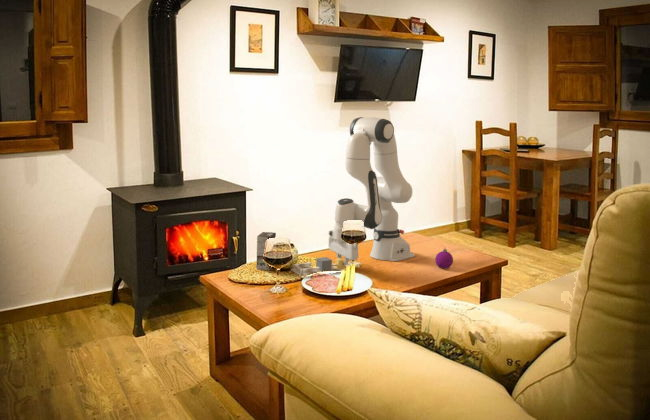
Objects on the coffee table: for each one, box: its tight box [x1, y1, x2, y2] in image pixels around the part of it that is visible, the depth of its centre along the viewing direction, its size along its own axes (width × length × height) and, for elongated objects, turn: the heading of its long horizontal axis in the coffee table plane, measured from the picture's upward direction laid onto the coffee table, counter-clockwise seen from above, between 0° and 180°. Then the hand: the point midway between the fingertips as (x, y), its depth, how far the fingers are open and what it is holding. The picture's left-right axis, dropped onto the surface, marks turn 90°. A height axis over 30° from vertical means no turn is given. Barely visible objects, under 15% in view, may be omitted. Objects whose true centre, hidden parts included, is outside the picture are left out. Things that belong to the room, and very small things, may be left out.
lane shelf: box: [289, 261, 345, 279], centre depth 270 cm, size 26×13×4 cm, turn 120°
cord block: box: [315, 256, 344, 271], centre depth 272 cm, size 12×5×5 cm, turn 120°
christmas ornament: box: [434, 247, 454, 269], centre depth 283 cm, size 8×8×10 cm
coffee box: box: [256, 231, 277, 271], centre depth 271 cm, size 9×6×16 cm
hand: (342, 264), depth 275 cm, fingers closed on cord block, 3 cm apart
